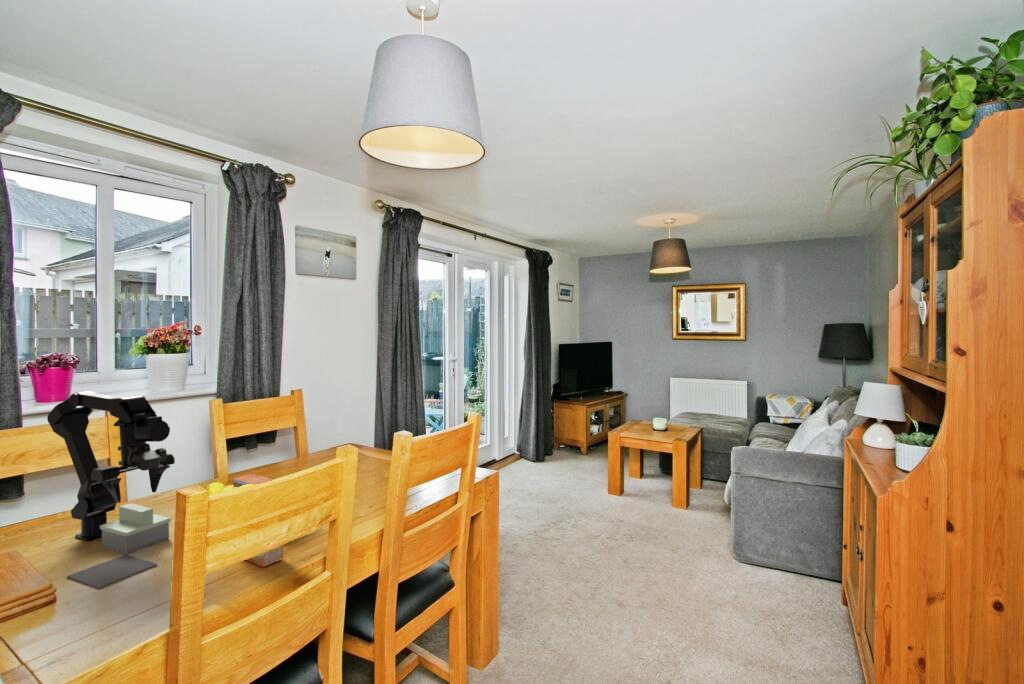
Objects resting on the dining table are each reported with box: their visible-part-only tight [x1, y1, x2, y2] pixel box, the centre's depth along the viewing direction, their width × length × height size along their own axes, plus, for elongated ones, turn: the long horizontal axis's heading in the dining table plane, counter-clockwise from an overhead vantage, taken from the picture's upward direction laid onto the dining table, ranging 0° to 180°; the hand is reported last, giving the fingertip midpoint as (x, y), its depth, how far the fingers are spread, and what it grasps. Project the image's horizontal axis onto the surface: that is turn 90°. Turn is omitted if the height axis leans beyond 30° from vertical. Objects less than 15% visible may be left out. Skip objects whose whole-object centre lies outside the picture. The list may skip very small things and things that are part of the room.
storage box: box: [101, 522, 170, 555], centre depth 141 cm, size 11×11×5 cm
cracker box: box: [233, 473, 284, 568], centre depth 134 cm, size 14×6×21 cm, turn 58°
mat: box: [66, 554, 158, 590], centre depth 125 cm, size 13×13×1 cm
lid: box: [100, 502, 171, 537], centre depth 141 cm, size 12×12×6 cm
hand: (136, 497), depth 141 cm, fingers open, 9 cm apart
